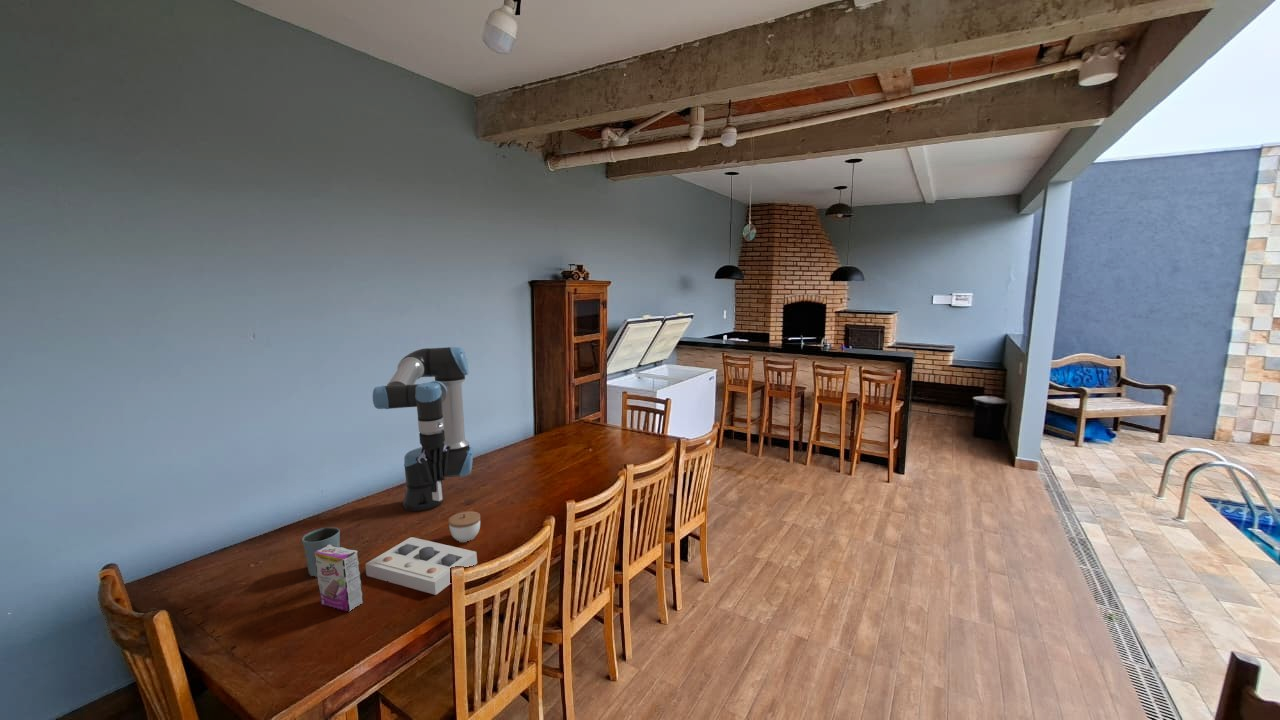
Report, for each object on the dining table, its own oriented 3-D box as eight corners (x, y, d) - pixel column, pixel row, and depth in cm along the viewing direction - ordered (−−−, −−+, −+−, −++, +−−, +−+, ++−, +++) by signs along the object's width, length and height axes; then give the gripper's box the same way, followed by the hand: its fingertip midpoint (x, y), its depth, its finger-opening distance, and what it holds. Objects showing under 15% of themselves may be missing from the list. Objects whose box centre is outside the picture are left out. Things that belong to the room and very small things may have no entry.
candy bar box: (319, 606, 142) (312, 552, 140) (335, 595, 147) (329, 543, 144) (349, 613, 139) (343, 558, 136) (364, 603, 143) (358, 549, 141)
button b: (427, 554, 164) (426, 545, 164) (437, 556, 163) (436, 548, 162) (416, 561, 160) (415, 552, 160) (427, 563, 158) (426, 554, 158)
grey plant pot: (304, 581, 154) (299, 545, 152) (308, 565, 163) (304, 531, 161) (342, 572, 159) (338, 537, 157) (344, 557, 168) (340, 523, 166)
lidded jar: (471, 547, 173) (469, 521, 172) (443, 544, 175) (441, 519, 174) (487, 532, 184) (485, 508, 182) (460, 529, 186) (458, 505, 184)
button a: (406, 552, 168) (405, 543, 167) (416, 554, 166) (415, 546, 166) (395, 558, 164) (395, 550, 163) (406, 561, 162) (405, 552, 162)
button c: (448, 562, 161) (448, 553, 161) (459, 565, 159) (459, 556, 159) (438, 569, 157) (437, 560, 156) (449, 572, 155) (449, 563, 155)
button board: (412, 547, 173) (410, 535, 173) (477, 563, 163) (476, 550, 162) (366, 575, 157) (365, 562, 156) (435, 595, 146) (434, 580, 146)
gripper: (425, 438, 154) (431, 510, 158) (455, 426, 165) (460, 493, 170) (406, 436, 156) (413, 506, 160) (437, 424, 168) (442, 489, 172)
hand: (437, 499), depth 165 cm, fingers closed
